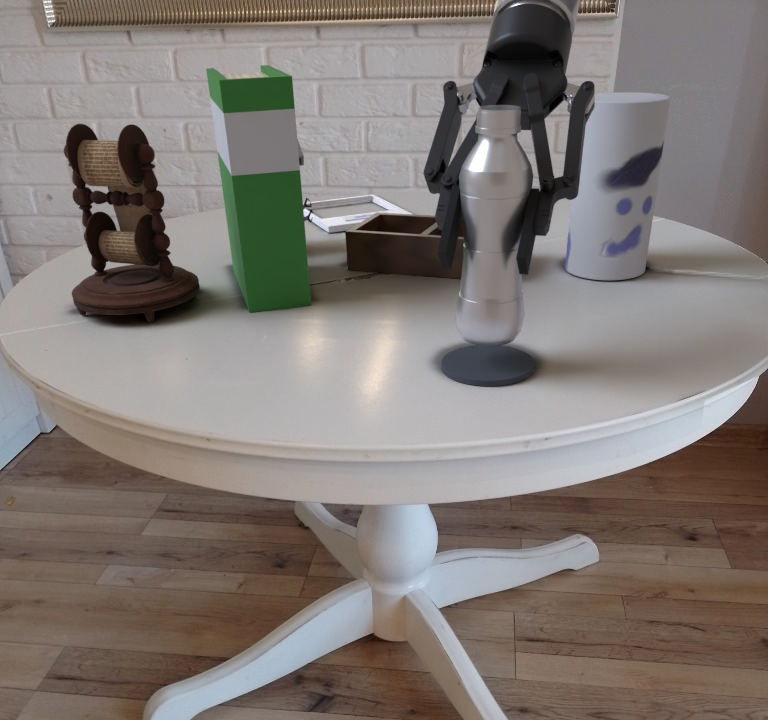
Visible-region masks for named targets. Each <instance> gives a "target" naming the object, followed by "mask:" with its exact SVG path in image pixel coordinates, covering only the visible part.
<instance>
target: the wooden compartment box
mask: <svg viewBox="0 0 768 720" xmlns="http://www.w3.org/2000/svg"><path fill="white" fill-rule="evenodd" d="M376 212H377V213H375V214H373V215H372V216H370V217H368V218H367V219H365V220H363V221H362V222H360V223H358V224H357V225H355V226H354V227H352V228H350V229H349V230H346V231H345V233H344V234H345V250H346V265H347V266H346V267H347V268H346V269H347V270H348V271H359V272H368V273H369V272H372V273H382V274H396V275H406V276H407V275H408V276H419V277H432V278H442V279H443V278H444V279H454V280H455V279H456V280H461V276H462V267H463V257H464V246H463V244H464V239H463V218H462V223H461V227H460V232H459V236H458V241H457V246H456V250H455V255H454V259H453V264H452V268H451V269H443V267H442V264H441V262H440V259H439V256H438V253H437V252H438V248H439V243H440V239H441V234H442V230H439V228H438V225H437V223H436V219H435V215H431V214H429V215H428V214H414V213H412V214H396V213H378V212H379V211H376Z"/></svg>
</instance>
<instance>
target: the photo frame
mask: <svg viewBox="0 0 768 720" xmlns="http://www.w3.org/2000/svg"><path fill="white" fill-rule="evenodd" d="M310 202H311V206H312V207H305V209H304V210H303V212H304V217H306V216H308V215H309V213H310V211H311V210H313V209H319V208H327V207H335V206H343V205H351V204H360V203H368V202H372V203H374V204H376V205H378V206H380V207H382V208H384V209H385V210H379V211H371V212H363V213H357V214H349V215H342V216H333V217H326V218H325V217H324V218H321V217H319V216H318V215H317V214H314V212H313V213H312V212H311V215H310V217H309V218H310V220H311V219H312V222H311V223H313V224H315V225H317V226H318V227H319V228H321V229H323V230H324V231H325V232H327V233H328V234H331V233H339V232H344V231H347V230H349V229H350V228H352V227H354V226H355V225H357V224H358V223H360V222H362V221H363V220H365V219H367V218H368V217H370V216H372V215H373V214H375V213H377V212H378V213H396V214H413V213H412V212H410V211H408V210H406V209H404V208H401V207H399V206H397V205H396V204H393V203H391V202H389V201H387V200H385V199H384V198H381V197H379V196H377V195H375V194H366V195H357V196H349V197H341V198H332V199H326V200H317V201H307V203H306V205H309V206H310ZM304 203H305V202H303V205H304ZM312 217H313V218H312Z"/></svg>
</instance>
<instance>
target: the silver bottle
mask: <svg viewBox="0 0 768 720" xmlns="http://www.w3.org/2000/svg"><path fill="white" fill-rule="evenodd" d="M476 116H477V125H476V126H475V132H476V133H478V134H479V137H478V141H477V142H476V144H475V145H474V147H473V148H472V150H471V151H470V153H469V154H468V156H467V158H466V160H465V161H464V163H463V165H462V168H461V171H460V175H459V188H460V197H461V207H462V216H463V239H464V244H463V246H464V257H463V267H462V276H461V279H460V285H459V286H460V287H459V288H460V290H459V292H458V296H457V300H456V307H455V312H454V317H455V324H456V329H457V332H458V333H459V335H460V337H461V338H462V340H463V341H465V342H467V343H468V344H472V345H480V346H499V345H502V346H505V345H508V344H510V343H512V342H514V341H515V340H516V338H517V337H518V336H519V334H520V333H521V332H522V328H523V324H524V319H525V314H526V313H525V300H524V294H523V287H522V286H523V281H522V280H523V278H522V276H523V274H519V270H518V264H517V259H516V257H517V252H518V247H519V242H520V237H521V232H522V227H523V222H524V217H525V212H526V208H527V203H528V198H529V193H530V190H531V188H533V184H534V183H533V182H534V172H533V166H532V164H531V161H530V159H529V157H528V156H527V153H526V151H525V150H524V149H523V147H522V145H521V143H520V141H519V140H518V134H519V133H521V132H522V130H521V125H520V120H521V107H520V106H515V105H489V106H481V107H480V106H478V107H477V109H476Z"/></svg>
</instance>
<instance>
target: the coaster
mask: <svg viewBox="0 0 768 720" xmlns="http://www.w3.org/2000/svg"><path fill="white" fill-rule="evenodd" d="M440 365H441V367H440V369H441V372H442V373H443V374H444V375H445V376H446V377H447V378H449V379H450V380H453V381H455V382H458V383H461V384H465V385H471V386H478V387H501V386H508V385H514V384H517V383H520V382H524V381H525V380H526V379H529V378H530V377H531V376H532V375H533V374H534V372H535V369H536V368H535V367H536V361H535V359H534V357H533V356H532V355H531V354H529V353H528V352H526V351H524V350H521V349H518V348H516V347H512V346H507V345H499V346H480V345H475V344H472V345H466V346H463V347H462V346H461V347H459V348H458V347H457V348H455V349H452V350H451V351H449V352H447V353H446V354H445V355H443V357H442V359H441V363H440Z"/></svg>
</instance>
